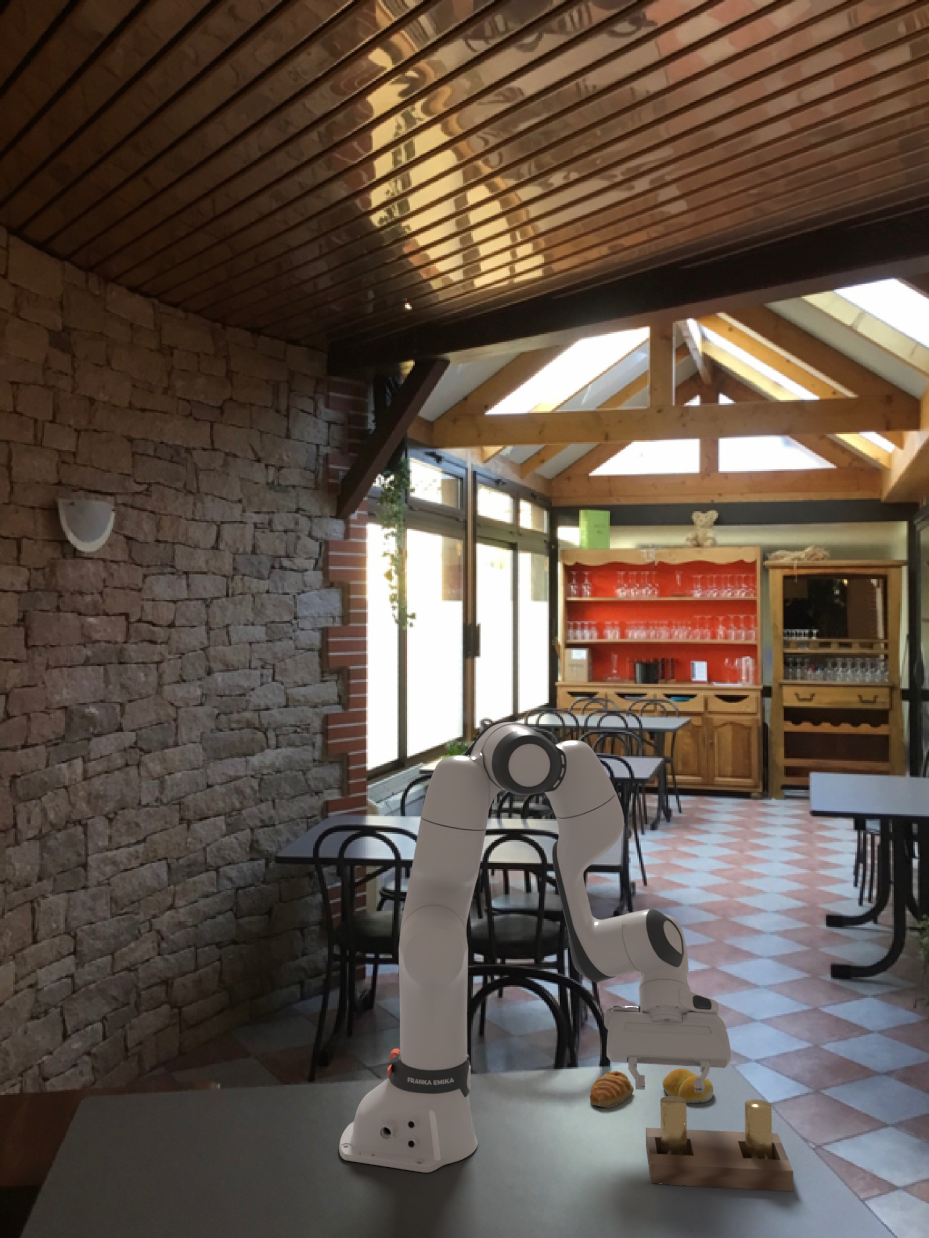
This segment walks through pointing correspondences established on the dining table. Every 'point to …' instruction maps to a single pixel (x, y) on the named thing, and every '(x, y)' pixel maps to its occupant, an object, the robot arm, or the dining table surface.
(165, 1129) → the dining table surface
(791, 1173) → the wooden socket block
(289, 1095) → the dining table surface
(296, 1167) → the dining table surface
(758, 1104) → the seated billet
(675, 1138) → the loose billet
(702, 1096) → the bread roll
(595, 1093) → the pastry
